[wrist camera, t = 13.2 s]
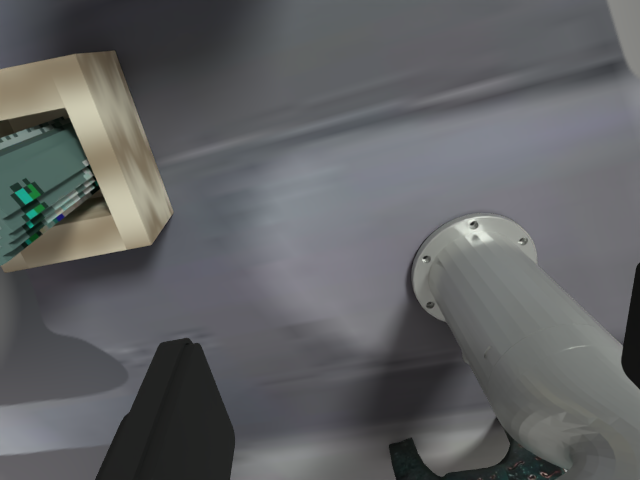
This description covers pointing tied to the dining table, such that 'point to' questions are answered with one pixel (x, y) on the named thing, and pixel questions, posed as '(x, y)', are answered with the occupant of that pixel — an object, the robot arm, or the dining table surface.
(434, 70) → the dining table surface
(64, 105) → the well block
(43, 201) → the can
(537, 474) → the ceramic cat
